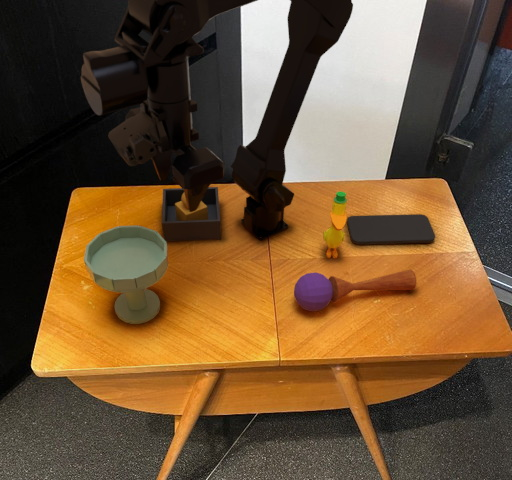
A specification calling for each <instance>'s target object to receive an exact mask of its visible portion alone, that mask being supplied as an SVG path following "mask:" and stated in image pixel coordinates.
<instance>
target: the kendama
mask: <svg viewBox="0 0 512 480" xmlns="http://www.w3.org/2000/svg"><path fill="white" fill-rule="evenodd" d="M416 286H417V275H416V273H415V271H414V270H413V269H406V270H402V271H399V272H394V273H391V274H386V275H382V276H378V277H373V278H370V279H366V280H362V281H357V282H350V281H347V280H344V279H341V278H339V277H336V276H333V275H330V276H329V277H326V276H325V275H324V274H322V273H319V272H309V273H304V275H301V276H300V277H299V279H298V280H297V281H296V283H295V284H294V289H293V297H294V299H295V301H296V303H297V305H299V306H300V307H301V308H302V309H303V310H305V311H308V312H317V311H322V310H323V309H325V308H326V307H327V306H328V305H329V304H330V302H332V303H333V304H335V303H338V301H340V300H342V299H343V298H345V297H346V296H348V295H349V294H350V293H352V292H353V291H413V290H414V289H415V288H416Z"/></svg>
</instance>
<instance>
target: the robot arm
mask: <svg viewBox="0 0 512 480" xmlns="http://www.w3.org/2000/svg"><path fill="white" fill-rule="evenodd" d="M257 1H259V0H128V2H127V8H126V10H125V13H124V15H123V17H122V20H121V22H120V25H119V27H118V29H117V31H116V33H115V36H114V42H116V43H117V44H118V45H119V46H115V47H112V48H107V49H102V50H90V51H86V52H84V53H83V54H82V57H83V64H82V66H81V76H80V82H81V86H82V89H83V93H84V96H85V98H86V100H87V102H88V104H89V106H90V108H91V110H92V111H93V113H94V114H95V115H97V116H99V117H100V116H103V115H107V114H110V113H114V112H117V111H121V110H124V109H128V108H131V107H135V106H138V105H139V107H135V108H131V109H129V111H128V113H127V114H126V116H125V118H124V119H125V120H124V121H122V122H121V123H120V124H118V125H117V126H116V127H114V128H112V129H111V130H110V131H109V132H108V135H107V137H108V139H109V140H110V142H111V144H112V145H113V147H114V148H115V150H116V152H117V154H118V155H119V156H120V157H121V158H122V159H123V161H124V162H125V163H126V165H128V166H129V167H136V166H137V165H139V164H140V165H143V164H146V163H147V162H148V161H149V160H151V162H152V164H153V166H154V169H155V172H156V174H157V176H158V178H159V180H160V181H161V182H164V181H167V180H168V179H169V174H170V169H171V172H172V175H173V177H172V179H173V180H174V182H175V183H176V184H177V185H178V186H179V188H183V189H184V193H185V198H186V202H187V206H188V209H189V211H190V212H193V211H196V210H197V208H198V206H199V204H200V202H201V200H202V198H203V196H204V194H205V193H206V191H207V189H208V187H211V184H212V183H213V182H217V181H220V180H223V179H224V177H225V174H226V173H225V162H224V161H223V160H222V159H221V158H220V157H219V156H218V155H217V154H215V153H214V151H212V150H211V149H209V148H208V147H207V146H204V147H202V148H198V149H196V148H195V147H194V146H193V145H192V144H191V143H193V142H196V141H198V140H200V134H199V131H197V129H195V128H194V127H193V113H195V112H197V111H198V103H197V102H196V101H195V100H194V99H192V98H191V97H192V96H191V83H190V68H189V58H190V57H195V56H198V55H202V54H204V52H205V49H204V47H203V46H201V45H200V44H198V43H197V42H196V41H195V40H194V38H193V37H194V36H196V35H197V34H199V33H201V32H202V30H203V29H204V28H205V26H206V25H207V24H208V22H209V21H210V20H212V19H214V18H216V17H217V16H220V15H222V14H226V13H227V12H230V11H233V10H236V9H238V8H241V7H244V6H247V5H249V4H253V3H255V2H257ZM289 1H290V5H289V9H288V12H287V13H288V14H287V31H288V45H287V48H286V51H285V54H284V57H283V60H282V63H281V66H280V67H279V71H278V74H277V77H276V80H275V83H274V85H273V88H272V92H271V93H270V95H269V100H268V102H267V105H266V108H265V110H264V113H263V116H262V118H261V122H260V125H259V128H258V130H257V132H256V136H255V138H254V139H253V140H251V141H250V142H249V143H248V144H247V145H246V146H245V145H243V144H239V146H238V147H237V149H236V154H235V158H234V160H233V162H232V163H231V164H230V168H231V169H232V172H231V178H232V179H233V182H234V183H235V184H236V185H237V186H238V187H239V188H240V190H242V191H244V192H245V193H246V194H247V195H248V196H247V197H245V206H244V208H243V218H241V219H240V223H241V224H242V225H243V227H245V229H247V231H249V232H250V233H251V234H252V235H254V236H255V238H256V239H258V240H259V241H264V240H266V239H268V238H270V237H272V236H275V235H277V234H279V233H282V232H284V231H286V230H288V229H289V228H290V227H289V226H290V225H289V224H288V223H287V222H286V221H284V220H285V219H284V218H285V209H286V207H288V206H291V204H292V202H293V199H294V197H295V193H294V192H293V191H292V190H291V189H290V188H288V187H287V186H286V185H285V184H283V183H284V179H285V176H286V172H287V168H286V167H287V166H286V155H285V150H286V147H287V145H288V141H289V139H290V136H291V134H292V132H293V129H294V127H295V124H296V121H297V118H298V116H299V113H300V110H301V108H302V105H303V103H304V101H305V98H306V95H307V93H308V91H309V88H310V86H311V82H312V79H313V77H314V75H315V73H316V70H317V67H318V64H319V62H320V60H321V58H322V56H323V55H325V54H326V53H327V52H328V51H329V50H330V49H331V48H332V47H334V45H336V44H337V43H338V42H339V40H340V38H341V36H342V34H343V32H344V30H345V29H346V27H347V25H348V23H349V21H350V19H351V16H352V14H353V8H354V3H353V1H352V0H289ZM142 31H143V32H145V33H146V34H147V35H149V36H150V37H151V38H150V40H149V42H148V41H147V40H145V39H144V38H143V37H142V36H140V35H139V34H140V33H141V32H142ZM173 153H174V154H175V155H176V156H175V158H174V160H173V161H172V156H173Z"/></svg>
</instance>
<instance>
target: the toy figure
mask: <svg viewBox="0 0 512 480" xmlns="http://www.w3.org/2000/svg"><path fill="white" fill-rule="evenodd" d="M346 197H347V193H346V192H345V191H337V192H336V193H335V196H334V197H333V201H332V207H331V210H330V211H329V213H330V214H329V215H330V227H328V228H327V229H326V231H325V230H323V234H322V237H323V238H322V239H323V242H325V243H326V244H327V246H328V248H327V250H326V253H325V256H326V258H327V259H331V257H332V258H333V259H337V257H338V255H339V254H338V251H337V248H338V247H339V246H341V245H342V243H343V242H344V241H345V237H346V236H345V235H346V233H345V232H344V231H343V229H345V225H347V219H348V216H347V215H348V214H347V211H346V208H347V204H348V203H347V202H348V199H347V198H346ZM331 249H332V250H331Z"/></svg>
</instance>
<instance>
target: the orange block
mask: <svg viewBox="0 0 512 480" xmlns="http://www.w3.org/2000/svg"><path fill="white" fill-rule="evenodd" d="M175 210H176V219H177V220H178V221H190V220H208V209H207V206H206V205H205V204H204V203H203V202H202V201H201V202H200V204H199V206H198V208H197V210H196V211H193V212H190V211H189V209H188V206H187V202H186V198H185V193H183V194H182V197H181V201H180V202H177V203H175Z"/></svg>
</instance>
